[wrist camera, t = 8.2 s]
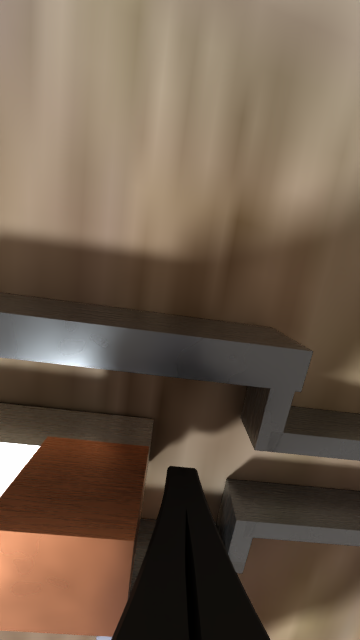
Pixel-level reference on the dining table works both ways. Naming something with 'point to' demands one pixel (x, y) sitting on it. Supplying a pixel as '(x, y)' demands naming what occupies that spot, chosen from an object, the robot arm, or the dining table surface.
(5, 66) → the dining table surface
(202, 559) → the robot arm
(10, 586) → the orange block
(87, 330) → the socket
